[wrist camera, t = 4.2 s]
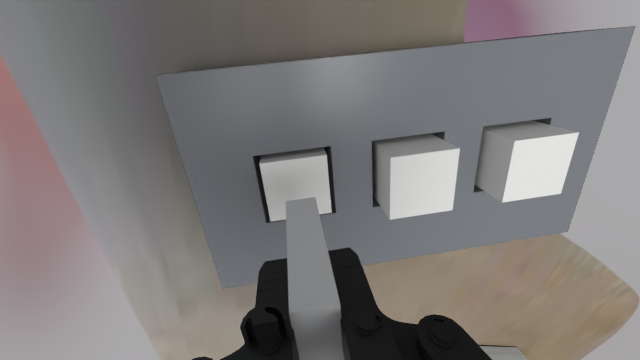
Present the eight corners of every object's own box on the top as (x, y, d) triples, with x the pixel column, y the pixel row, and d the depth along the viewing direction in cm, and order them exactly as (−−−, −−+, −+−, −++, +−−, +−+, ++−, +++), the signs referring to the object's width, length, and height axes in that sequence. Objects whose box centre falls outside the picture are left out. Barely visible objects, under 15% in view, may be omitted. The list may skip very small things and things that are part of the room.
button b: (369, 138, 21) (390, 157, 17) (426, 131, 21) (459, 148, 17) (370, 191, 23) (389, 219, 19) (423, 184, 23) (452, 210, 19)
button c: (471, 125, 21) (514, 141, 17) (525, 118, 22) (579, 132, 18) (464, 178, 23) (502, 202, 19) (514, 170, 24) (560, 193, 20)
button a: (263, 144, 22) (259, 163, 18) (318, 137, 22) (326, 154, 18) (272, 194, 24) (270, 221, 20) (323, 187, 24) (331, 212, 20)
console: (183, 71, 20) (155, 75, 16) (564, 32, 23) (635, 26, 18) (232, 251, 27) (223, 291, 22) (522, 207, 29) (566, 234, 25)
